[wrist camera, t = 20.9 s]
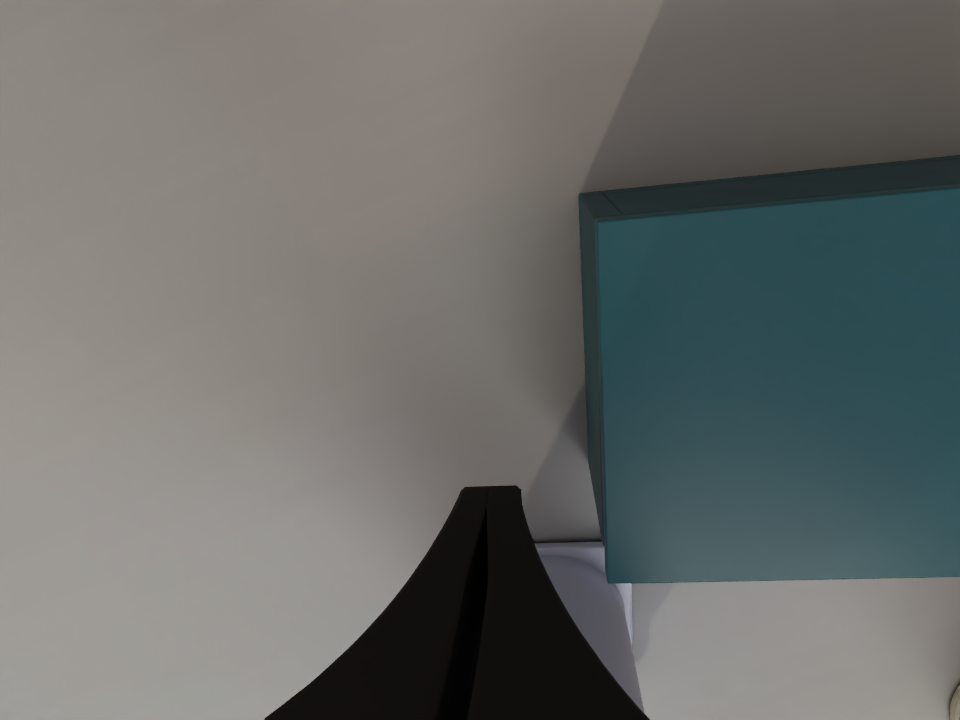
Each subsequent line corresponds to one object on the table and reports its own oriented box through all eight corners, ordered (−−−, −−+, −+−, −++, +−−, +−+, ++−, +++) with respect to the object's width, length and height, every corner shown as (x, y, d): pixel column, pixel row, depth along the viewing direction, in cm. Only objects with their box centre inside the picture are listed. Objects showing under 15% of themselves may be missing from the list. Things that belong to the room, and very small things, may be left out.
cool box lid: (1030, 560, 18) (1049, 575, 17) (604, 569, 20) (607, 584, 19) (1153, 164, 14) (1184, 165, 13) (593, 217, 15) (596, 221, 15)
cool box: (920, 448, 23) (1024, 535, 18) (588, 463, 25) (602, 547, 20) (989, 152, 19) (1151, 163, 14) (578, 193, 20) (593, 216, 15)
